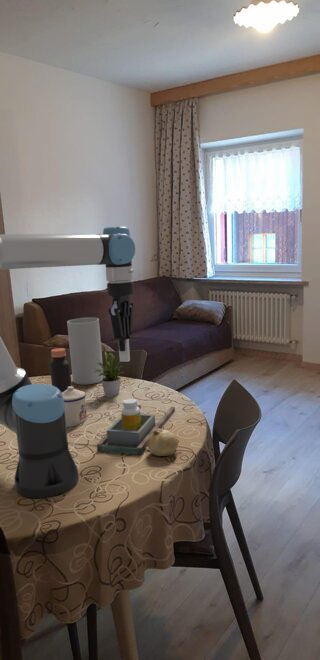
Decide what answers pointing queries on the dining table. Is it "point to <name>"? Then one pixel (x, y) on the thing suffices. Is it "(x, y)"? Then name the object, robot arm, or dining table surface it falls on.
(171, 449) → the onion
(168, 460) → the dining table surface
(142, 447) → the bay
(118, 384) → the house plant
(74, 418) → the teacup with lid
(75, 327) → the cylinder vase
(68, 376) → the vinegar
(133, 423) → the supplement bottle
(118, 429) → the box
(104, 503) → the dining table surface
